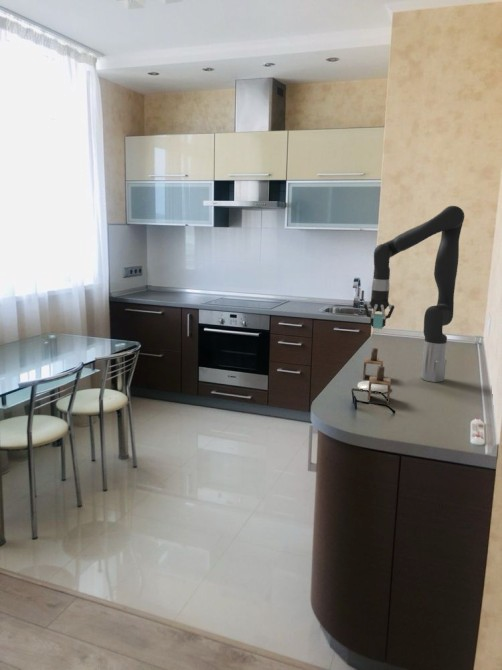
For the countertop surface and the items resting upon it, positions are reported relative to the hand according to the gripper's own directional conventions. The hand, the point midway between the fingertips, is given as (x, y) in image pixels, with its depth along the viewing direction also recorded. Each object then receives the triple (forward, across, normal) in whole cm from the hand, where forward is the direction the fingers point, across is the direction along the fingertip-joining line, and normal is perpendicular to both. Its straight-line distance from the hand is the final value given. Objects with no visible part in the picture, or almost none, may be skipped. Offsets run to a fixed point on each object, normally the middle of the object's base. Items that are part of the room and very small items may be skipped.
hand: (377, 326), depth 251 cm
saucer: (+21, 0, +26) cm, 34 cm away
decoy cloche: (+21, -3, +41) cm, 46 cm away
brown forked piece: (+21, 0, +11) cm, 24 cm away
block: (+1, 0, 0) cm, 1 cm away
